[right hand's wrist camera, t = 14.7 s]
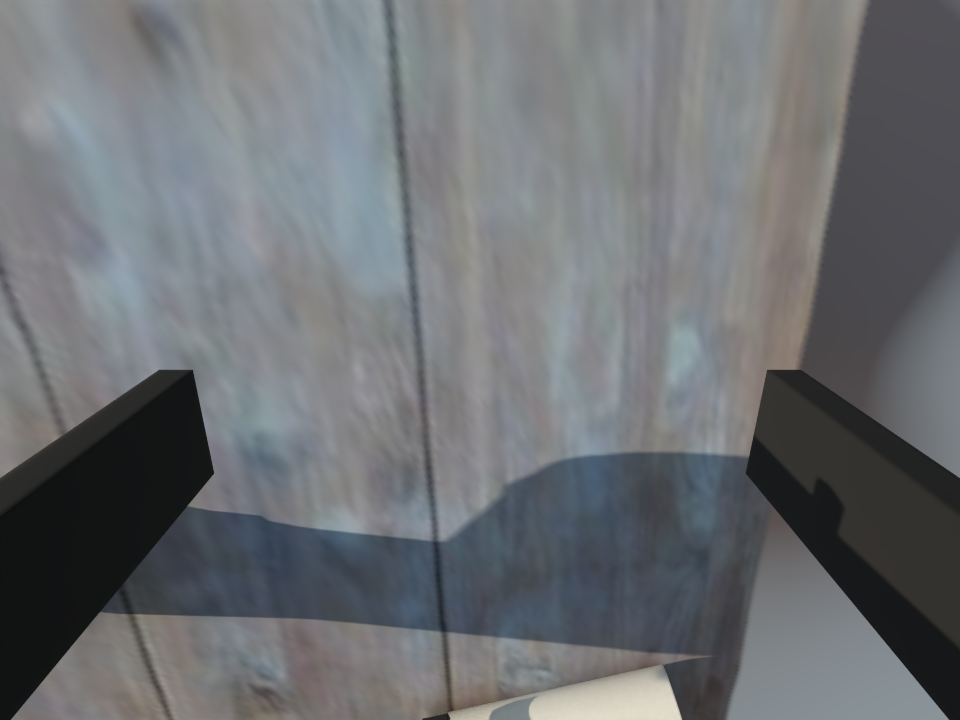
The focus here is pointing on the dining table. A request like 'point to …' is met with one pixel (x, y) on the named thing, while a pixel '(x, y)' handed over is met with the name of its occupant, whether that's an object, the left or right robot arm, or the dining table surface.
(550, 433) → the dining table surface
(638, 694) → the paper towel roll
